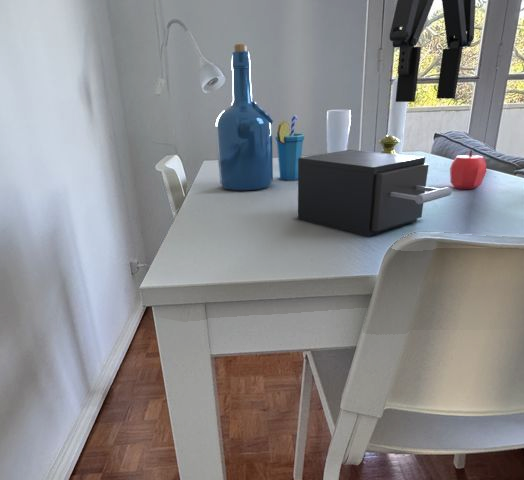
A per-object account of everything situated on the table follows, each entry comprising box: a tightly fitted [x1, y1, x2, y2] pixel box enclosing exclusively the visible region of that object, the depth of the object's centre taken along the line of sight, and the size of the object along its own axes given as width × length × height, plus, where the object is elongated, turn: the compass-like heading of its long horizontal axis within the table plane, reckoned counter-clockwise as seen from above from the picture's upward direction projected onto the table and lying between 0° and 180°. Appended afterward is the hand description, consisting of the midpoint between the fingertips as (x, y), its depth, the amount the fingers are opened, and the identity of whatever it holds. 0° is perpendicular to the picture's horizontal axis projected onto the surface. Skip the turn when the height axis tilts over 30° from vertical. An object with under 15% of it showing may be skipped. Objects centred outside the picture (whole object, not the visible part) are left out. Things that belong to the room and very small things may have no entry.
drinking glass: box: [325, 109, 351, 153], centre depth 138 cm, size 7×7×15 cm
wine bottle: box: [215, 43, 275, 192], centre depth 110 cm, size 14×13×30 cm
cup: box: [274, 114, 305, 181], centre depth 123 cm, size 14×8×15 cm, turn 163°
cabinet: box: [297, 149, 426, 237], centre depth 84 cm, size 17×14×11 cm
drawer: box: [371, 163, 453, 231], centre depth 81 cm, size 22×13×9 cm, turn 40°
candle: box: [387, 77, 409, 155], centre depth 132 cm, size 7×7×25 cm
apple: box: [449, 149, 487, 190], centre depth 107 cm, size 8×8×8 cm
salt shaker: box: [378, 134, 399, 154], centre depth 120 cm, size 7×7×10 cm
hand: (426, 100), depth 69 cm, fingers open, 10 cm apart
